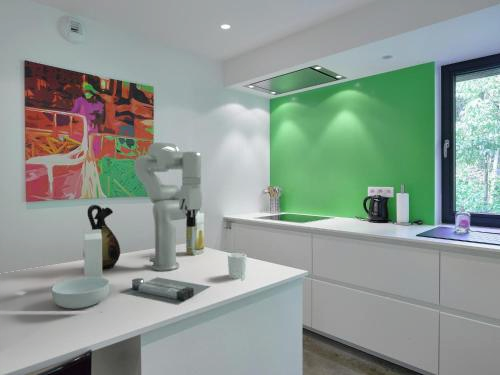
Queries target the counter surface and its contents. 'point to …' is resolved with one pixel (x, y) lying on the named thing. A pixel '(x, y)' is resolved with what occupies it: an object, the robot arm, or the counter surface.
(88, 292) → the cereal bowl
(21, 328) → the counter surface
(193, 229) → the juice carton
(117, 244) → the ceramic jug
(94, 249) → the milk
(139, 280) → the moving tong arm
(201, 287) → the slate board
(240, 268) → the white cup
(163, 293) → the bar
